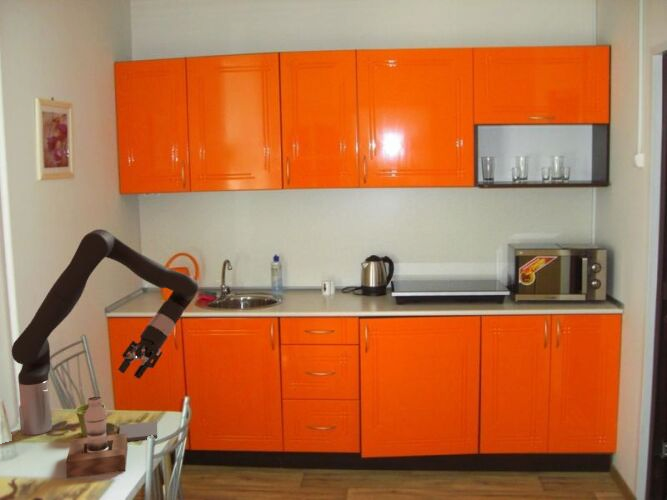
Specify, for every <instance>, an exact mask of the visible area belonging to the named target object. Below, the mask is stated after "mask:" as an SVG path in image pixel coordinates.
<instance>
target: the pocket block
mask: <svg viewBox="0 0 667 500" xmlns="http://www.w3.org/2000/svg"><path fill="white" fill-rule="evenodd" d="M106 436H107V443H108V447H109V451H100V452H92V453H87V442H88V438H87V437H81V438H72V439H71V443H70V446H69V449H68V453H67V456H66V460H65V469H66V470H65V472H66V479H72V478H80V477H88V476H95V475H96V476H97V475H103V474H111V473H112V474H113V473H118V472H119V473H120V472H121V473H122V472H126V469H127V458H128V451H129V449H128V441H127V433H125V434H119V433H117V434H108V435H107V434H106Z"/></svg>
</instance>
